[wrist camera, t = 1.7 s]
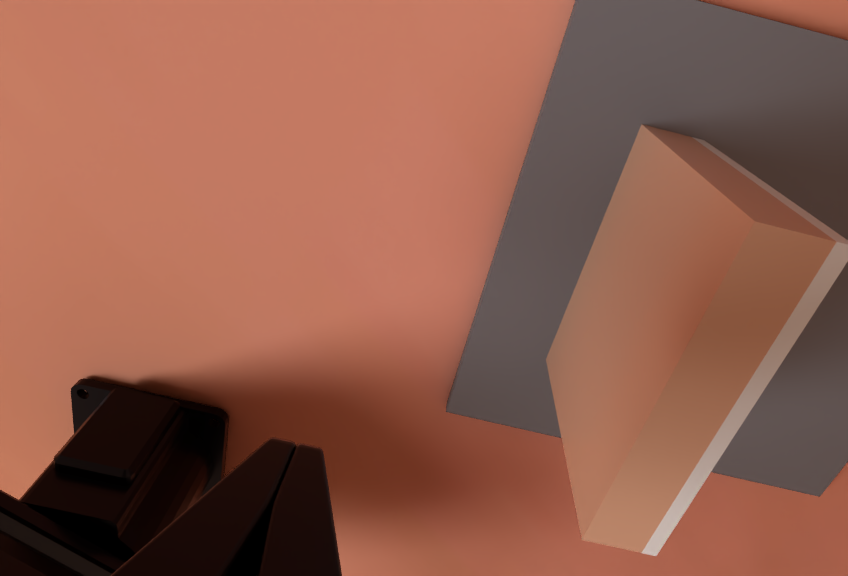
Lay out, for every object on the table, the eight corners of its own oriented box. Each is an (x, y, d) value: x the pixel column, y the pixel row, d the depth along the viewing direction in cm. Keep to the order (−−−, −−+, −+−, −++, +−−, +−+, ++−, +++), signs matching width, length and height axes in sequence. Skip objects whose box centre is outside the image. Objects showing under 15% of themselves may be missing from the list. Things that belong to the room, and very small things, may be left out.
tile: (596, 371, 22) (656, 556, 15) (545, 359, 22) (581, 539, 15) (704, 140, 18) (856, 246, 11) (641, 124, 18) (754, 221, 11)
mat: (813, 487, 25) (819, 496, 24) (446, 404, 24) (446, 411, 23) (1107, 110, 17) (1125, 114, 17) (584, -29, 16) (588, -30, 16)
